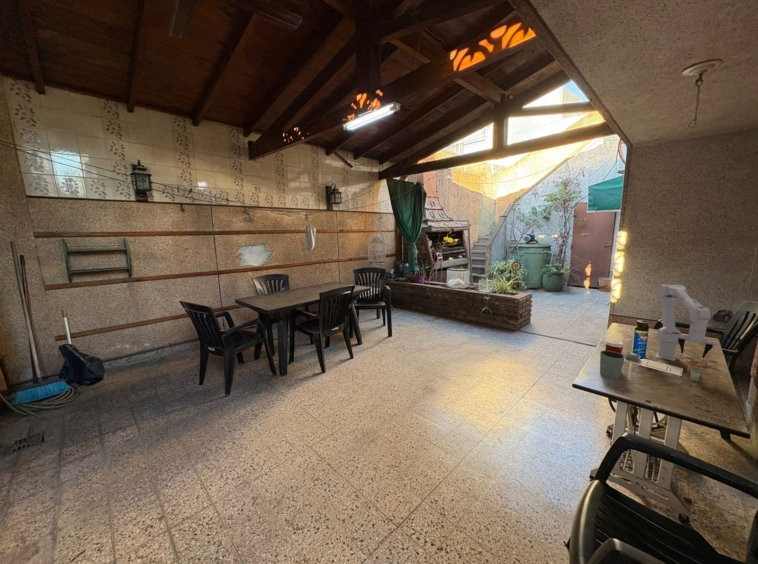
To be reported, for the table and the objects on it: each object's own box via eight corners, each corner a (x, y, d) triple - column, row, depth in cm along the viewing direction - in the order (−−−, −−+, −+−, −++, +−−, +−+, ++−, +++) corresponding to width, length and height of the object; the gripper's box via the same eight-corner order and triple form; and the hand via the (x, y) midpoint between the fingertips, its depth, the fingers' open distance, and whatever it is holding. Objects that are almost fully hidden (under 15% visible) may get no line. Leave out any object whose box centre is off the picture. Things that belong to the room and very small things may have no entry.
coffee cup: (624, 371, 158) (628, 345, 155) (607, 369, 160) (610, 344, 157) (615, 364, 166) (618, 339, 163) (598, 362, 168) (602, 338, 165)
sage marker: (689, 377, 150) (691, 366, 149) (699, 380, 148) (701, 369, 147) (689, 379, 148) (691, 369, 147) (698, 382, 146) (701, 371, 145)
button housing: (627, 356, 174) (627, 352, 174) (640, 359, 170) (640, 355, 169) (625, 359, 170) (625, 355, 170) (638, 362, 166) (639, 358, 165)
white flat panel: (626, 355, 177) (627, 354, 176) (683, 369, 159) (683, 368, 159) (622, 361, 169) (622, 360, 169) (681, 376, 151) (681, 375, 151)
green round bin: (611, 381, 148) (615, 359, 146) (592, 371, 157) (595, 351, 155) (626, 378, 150) (629, 356, 148) (606, 369, 160) (609, 349, 158)
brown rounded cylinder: (686, 370, 157) (688, 360, 156) (695, 373, 155) (697, 362, 154) (686, 372, 155) (688, 362, 154) (695, 375, 153) (697, 364, 151)
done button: (629, 355, 172) (630, 352, 172) (637, 357, 170) (638, 354, 169) (628, 357, 170) (628, 353, 170) (636, 359, 167) (636, 355, 167)
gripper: (676, 328, 153) (672, 352, 156) (718, 336, 142) (713, 361, 145) (678, 325, 158) (673, 349, 160) (718, 332, 147) (713, 357, 150)
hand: (692, 355), depth 153 cm, fingers open, 7 cm apart
